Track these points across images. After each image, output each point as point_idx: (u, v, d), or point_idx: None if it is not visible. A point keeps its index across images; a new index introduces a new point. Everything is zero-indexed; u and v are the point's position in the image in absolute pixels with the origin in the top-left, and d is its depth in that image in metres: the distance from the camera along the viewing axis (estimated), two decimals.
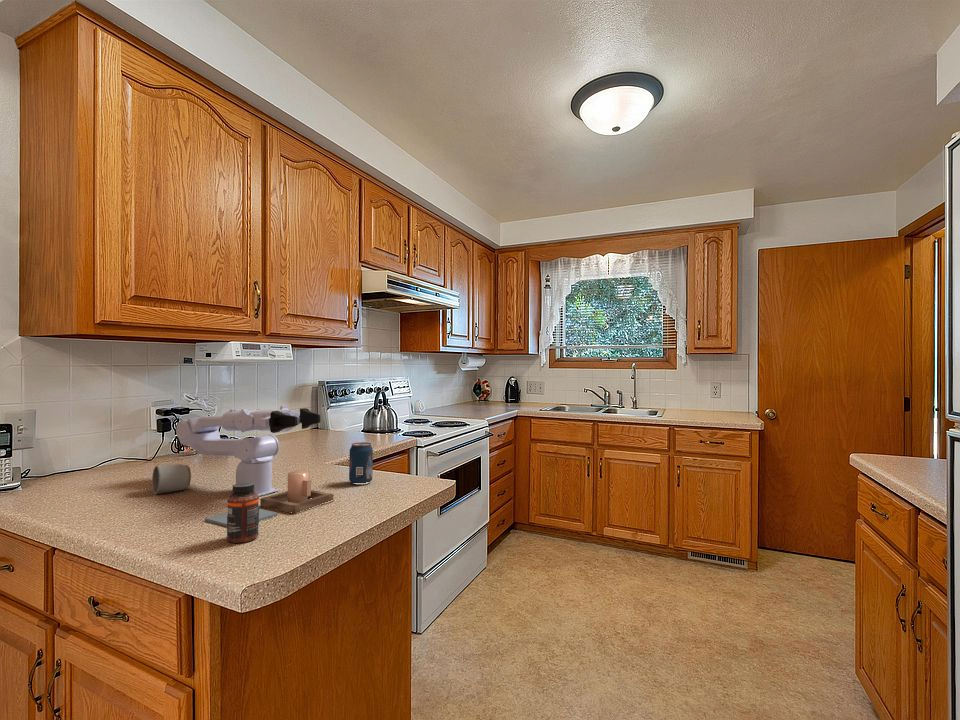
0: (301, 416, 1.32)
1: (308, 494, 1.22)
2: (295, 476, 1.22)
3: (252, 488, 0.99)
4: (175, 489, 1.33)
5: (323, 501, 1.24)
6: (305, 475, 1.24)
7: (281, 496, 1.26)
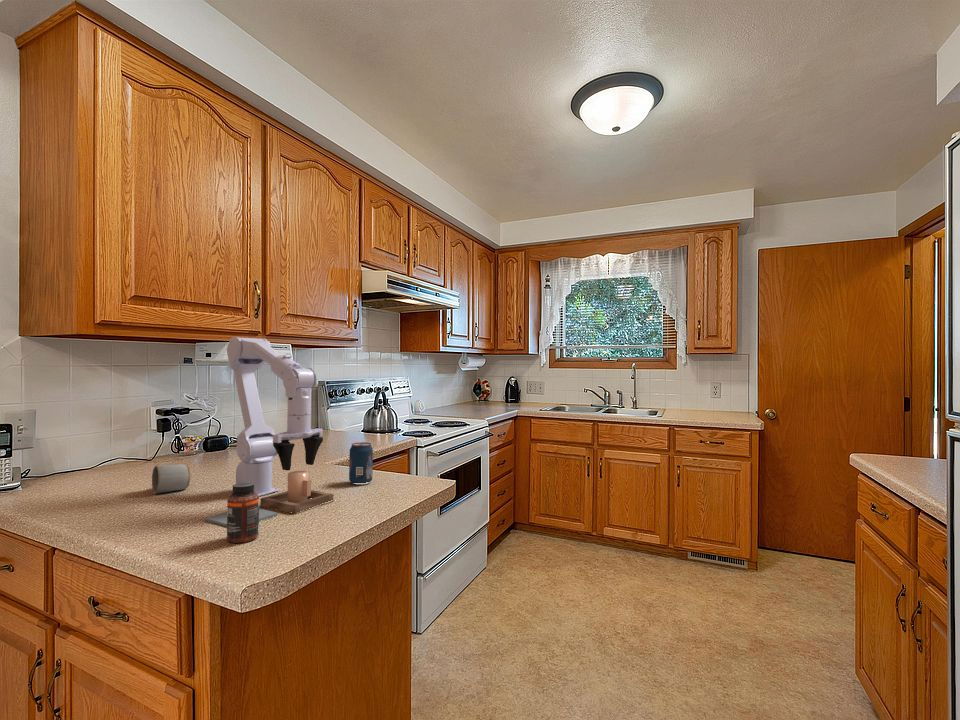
0: (311, 440, 1.28)
1: (308, 494, 1.22)
2: (295, 476, 1.22)
3: (252, 488, 0.99)
4: (175, 489, 1.34)
5: (323, 501, 1.24)
6: (305, 475, 1.24)
7: (281, 496, 1.26)
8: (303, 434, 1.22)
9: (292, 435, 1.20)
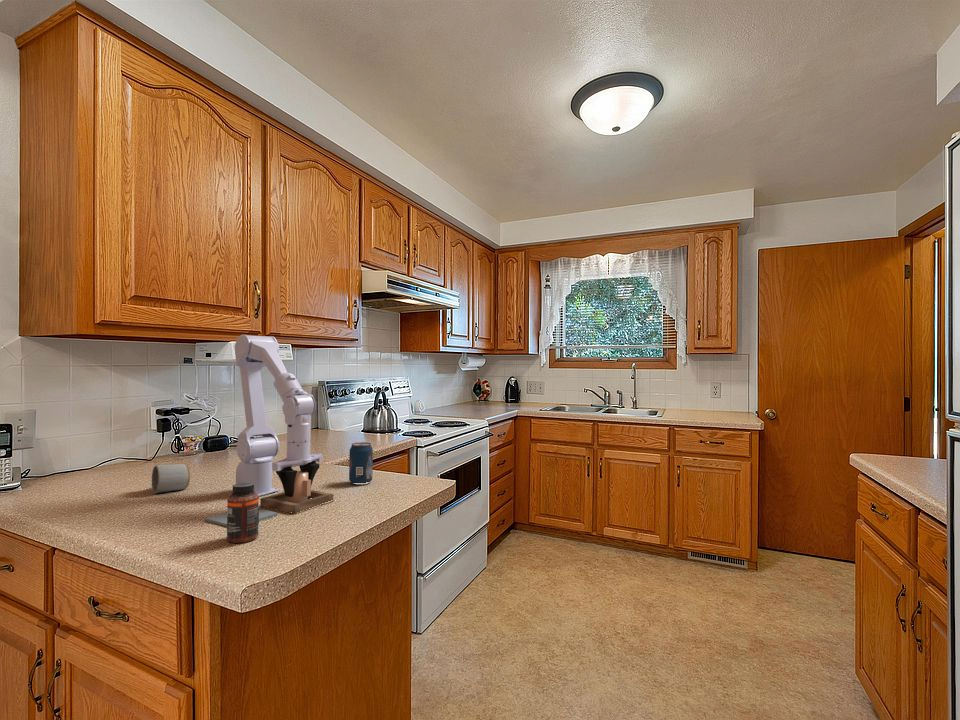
0: (308, 466, 1.27)
1: (308, 494, 1.22)
2: None
3: (252, 488, 0.99)
4: (174, 488, 1.34)
5: (323, 501, 1.24)
6: (305, 475, 1.24)
7: (281, 496, 1.26)
8: (302, 461, 1.22)
9: (292, 463, 1.20)
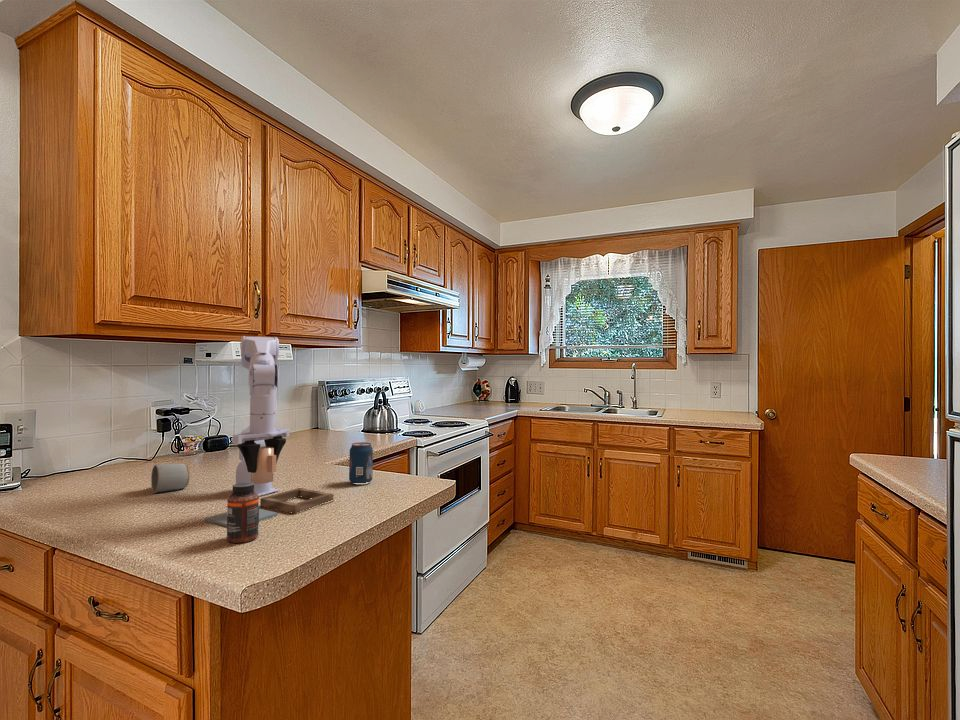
0: (273, 441, 1.19)
1: (273, 470, 1.14)
2: (259, 451, 1.14)
3: (252, 488, 0.99)
4: (174, 488, 1.35)
5: (323, 501, 1.24)
6: (270, 450, 1.15)
7: (281, 496, 1.26)
8: (266, 435, 1.14)
9: (254, 436, 1.12)
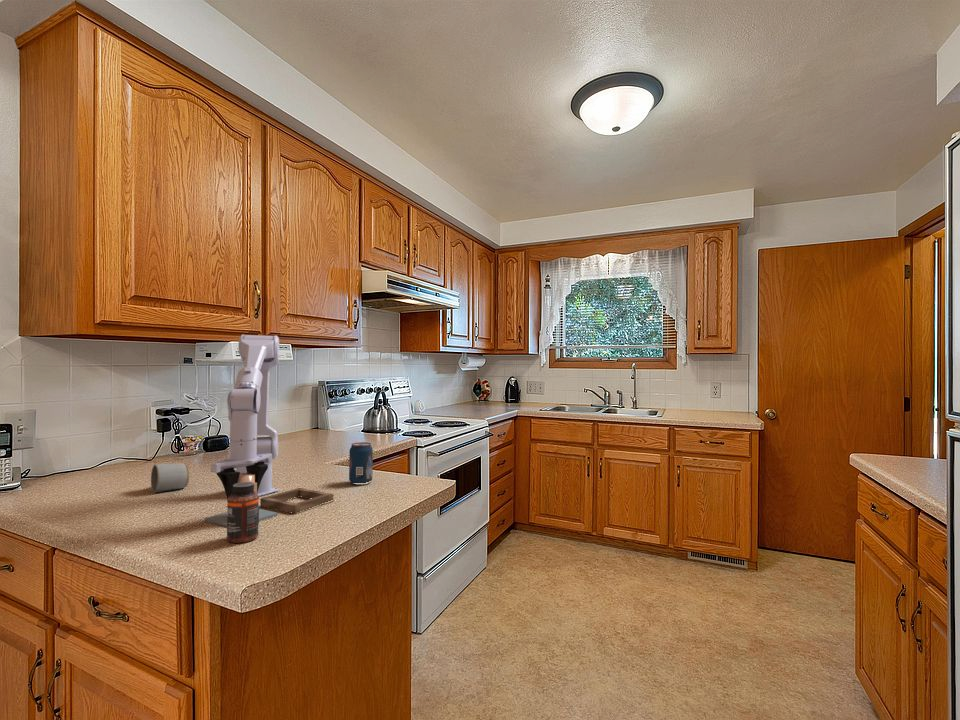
0: (254, 467, 1.15)
1: None
2: (239, 479, 1.10)
3: (252, 488, 0.99)
4: (174, 487, 1.35)
5: (323, 501, 1.24)
6: (251, 477, 1.12)
7: (281, 496, 1.26)
8: (246, 462, 1.10)
9: (233, 464, 1.09)
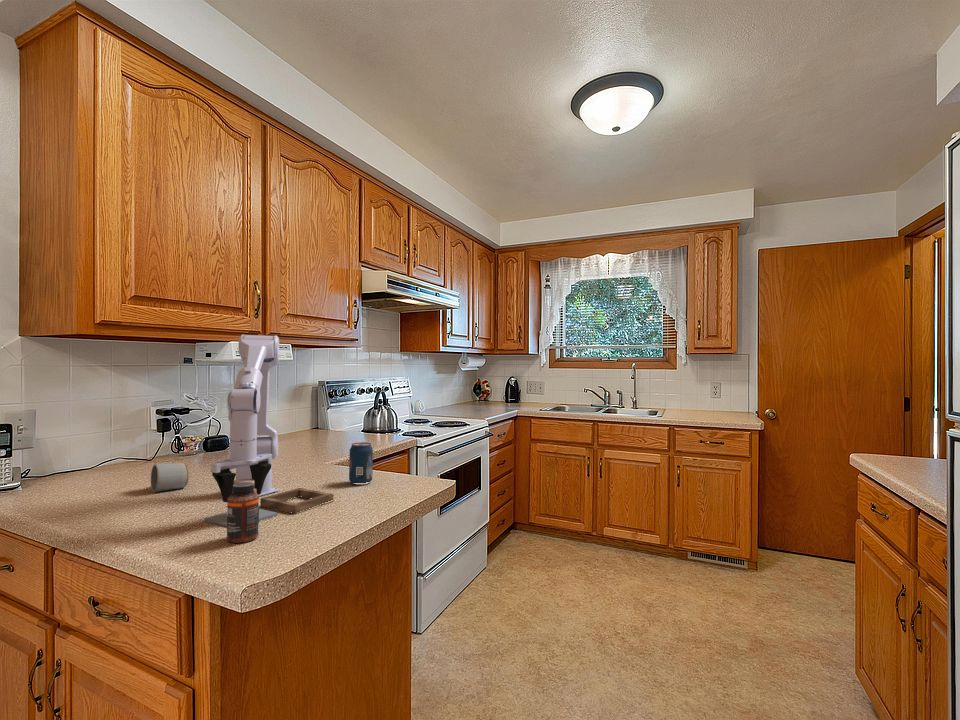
0: (258, 467, 1.16)
1: None
2: None
3: (252, 488, 0.99)
4: (173, 487, 1.35)
5: (323, 501, 1.24)
6: None
7: (281, 496, 1.26)
8: (246, 462, 1.10)
9: (233, 464, 1.09)
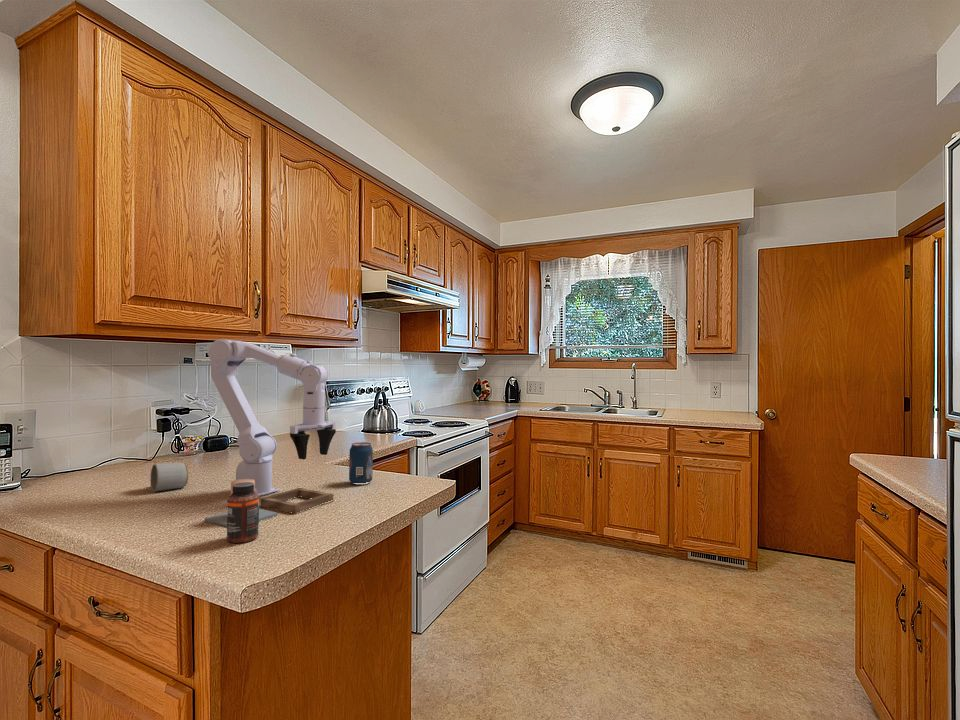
0: (325, 431, 1.37)
1: None
2: None
3: (252, 488, 0.99)
4: (173, 487, 1.36)
5: (323, 501, 1.24)
6: None
7: (281, 496, 1.26)
8: (318, 426, 1.31)
9: (308, 427, 1.30)
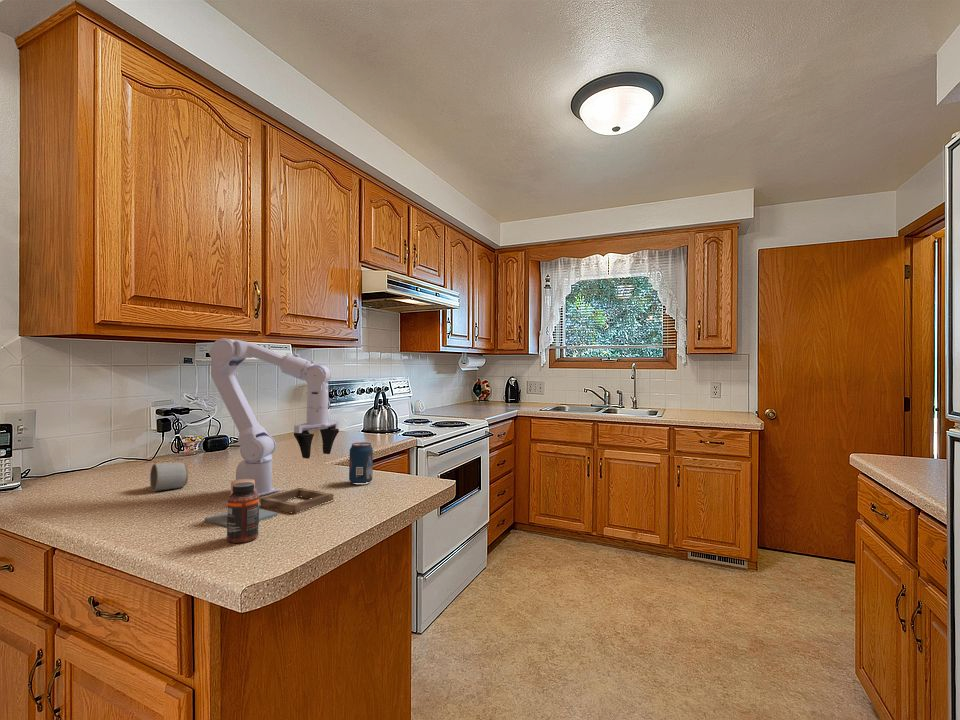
0: (328, 431, 1.38)
1: None
2: None
3: (252, 488, 0.99)
4: (173, 487, 1.36)
5: (323, 501, 1.24)
6: None
7: (281, 496, 1.26)
8: (321, 425, 1.33)
9: (311, 426, 1.31)
